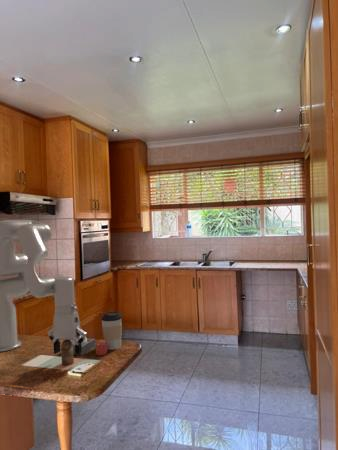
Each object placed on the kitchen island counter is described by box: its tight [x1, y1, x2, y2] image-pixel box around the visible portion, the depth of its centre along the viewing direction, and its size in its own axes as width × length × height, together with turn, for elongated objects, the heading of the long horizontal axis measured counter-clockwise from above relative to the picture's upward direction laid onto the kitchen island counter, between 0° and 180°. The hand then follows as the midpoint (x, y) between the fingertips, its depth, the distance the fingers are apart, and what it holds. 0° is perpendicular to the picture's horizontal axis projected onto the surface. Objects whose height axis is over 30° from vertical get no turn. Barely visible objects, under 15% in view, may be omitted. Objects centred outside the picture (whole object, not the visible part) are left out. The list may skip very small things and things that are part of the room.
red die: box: [95, 341, 108, 356], centre depth 147 cm, size 4×4×4 cm
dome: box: [70, 336, 88, 346], centre depth 151 cm, size 7×7×7 cm
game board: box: [20, 354, 103, 374], centre depth 138 cm, size 30×11×1 cm, turn 70°
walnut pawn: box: [60, 340, 75, 366], centre depth 137 cm, size 4×4×9 cm
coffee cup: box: [100, 311, 123, 351], centre depth 155 cm, size 9×9×15 cm
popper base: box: [72, 338, 97, 356], centre depth 151 cm, size 10×10×4 cm
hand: (67, 353), depth 136 cm, fingers open, 9 cm apart
